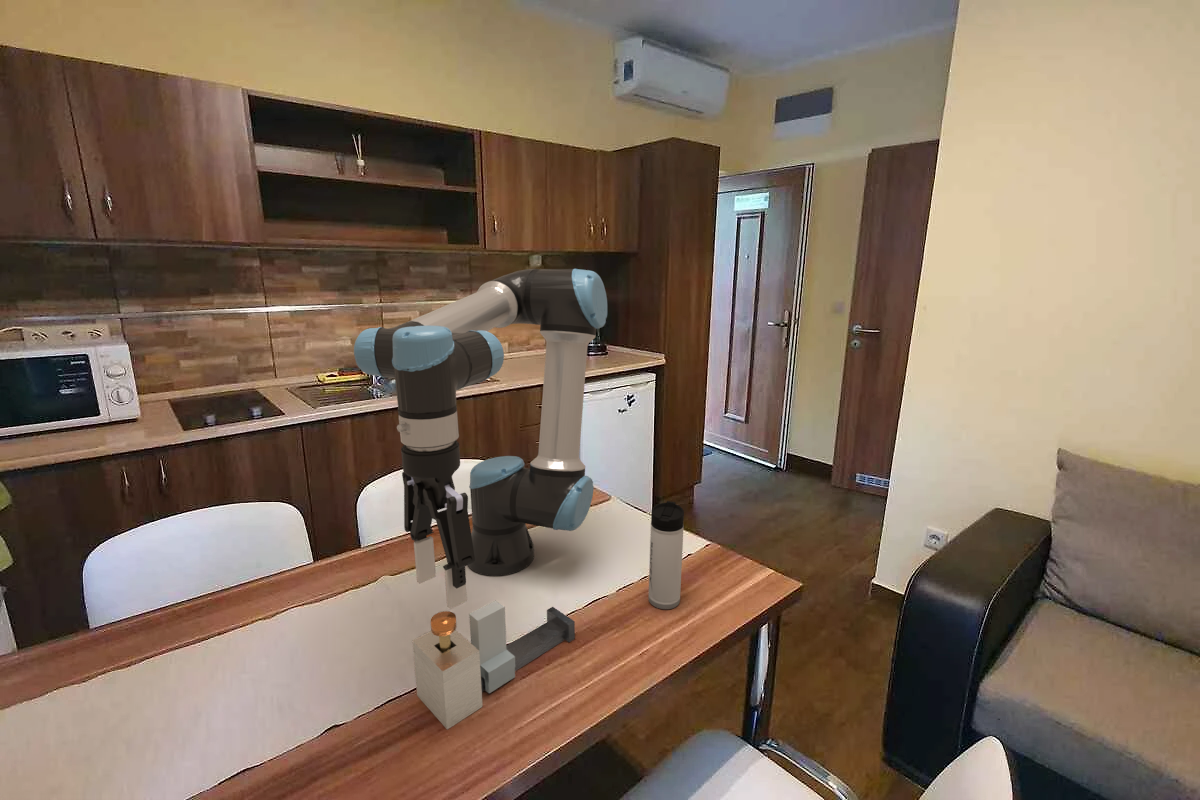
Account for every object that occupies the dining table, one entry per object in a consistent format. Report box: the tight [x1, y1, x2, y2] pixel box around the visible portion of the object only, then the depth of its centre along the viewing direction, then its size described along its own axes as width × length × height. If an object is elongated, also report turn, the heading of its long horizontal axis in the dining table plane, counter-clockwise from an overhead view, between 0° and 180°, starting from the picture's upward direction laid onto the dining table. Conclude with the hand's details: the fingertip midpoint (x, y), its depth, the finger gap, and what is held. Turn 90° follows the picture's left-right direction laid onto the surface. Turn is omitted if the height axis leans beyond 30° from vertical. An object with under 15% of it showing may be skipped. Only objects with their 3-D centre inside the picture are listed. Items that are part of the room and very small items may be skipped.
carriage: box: [468, 599, 516, 694], centre depth 89 cm, size 7×5×12 cm
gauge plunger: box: [430, 610, 458, 653], centre depth 83 cm, size 4×4×9 cm
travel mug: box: [647, 500, 685, 610], centre depth 108 cm, size 6×7×20 cm
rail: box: [411, 606, 576, 731], centre depth 91 cm, size 9×26×10 cm, turn 135°
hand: (441, 590), depth 80 cm, fingers open, 8 cm apart
